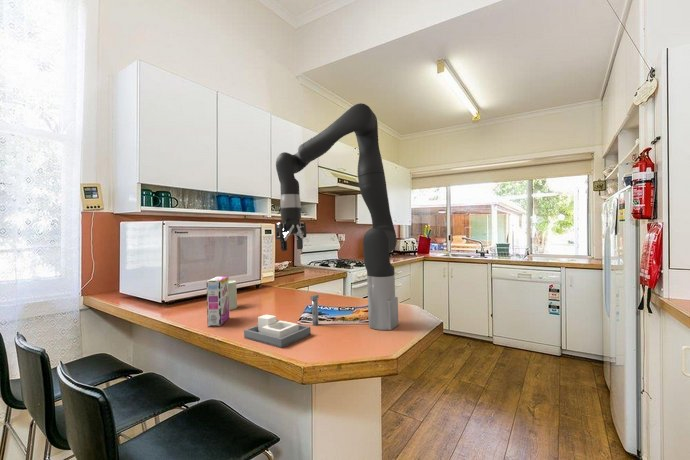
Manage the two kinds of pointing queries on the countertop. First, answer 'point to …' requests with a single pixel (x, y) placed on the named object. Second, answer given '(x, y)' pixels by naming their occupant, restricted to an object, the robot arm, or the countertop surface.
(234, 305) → the can
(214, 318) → the candy bar box
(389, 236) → the robot arm
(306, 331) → the tray
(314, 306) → the post
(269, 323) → the collar
